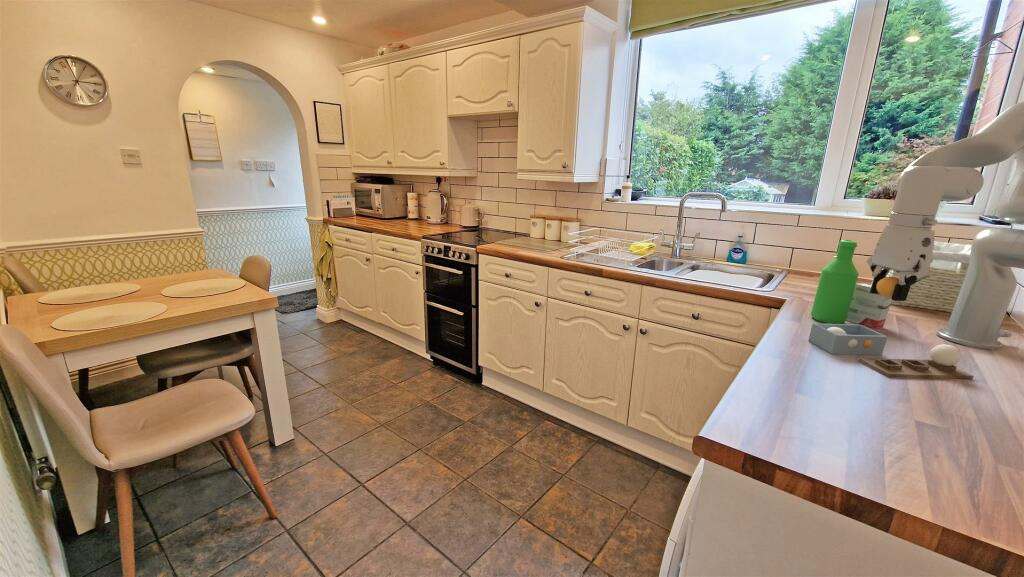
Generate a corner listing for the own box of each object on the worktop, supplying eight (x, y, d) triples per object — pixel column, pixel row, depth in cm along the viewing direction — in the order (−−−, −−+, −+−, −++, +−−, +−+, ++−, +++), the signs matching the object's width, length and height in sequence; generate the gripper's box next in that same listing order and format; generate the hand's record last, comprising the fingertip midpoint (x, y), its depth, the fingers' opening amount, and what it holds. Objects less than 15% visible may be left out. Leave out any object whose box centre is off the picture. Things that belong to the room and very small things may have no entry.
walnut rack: (936, 362, 101) (939, 356, 101) (972, 379, 94) (975, 371, 93) (858, 361, 101) (860, 354, 100) (887, 377, 93) (890, 370, 92)
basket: (986, 320, 136) (1011, 255, 130) (881, 304, 148) (899, 244, 142) (953, 299, 158) (974, 243, 152) (865, 287, 171) (880, 235, 165)
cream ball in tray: (834, 341, 111) (839, 324, 109) (849, 349, 106) (854, 331, 104) (816, 341, 110) (820, 323, 109) (830, 349, 106) (835, 331, 104)
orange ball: (886, 293, 103) (893, 274, 102) (906, 300, 99) (913, 280, 97) (868, 293, 103) (874, 274, 102) (887, 299, 98) (893, 279, 97)
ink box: (884, 327, 125) (895, 289, 122) (875, 329, 123) (887, 291, 119) (851, 317, 132) (862, 282, 129) (843, 319, 130) (853, 283, 127)
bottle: (850, 326, 124) (874, 244, 117) (818, 323, 126) (840, 242, 119) (835, 316, 132) (856, 239, 125) (804, 314, 134) (824, 237, 127)
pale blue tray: (855, 341, 113) (860, 324, 111) (882, 355, 105) (888, 337, 103) (808, 340, 112) (812, 323, 111) (832, 354, 104) (837, 335, 103)
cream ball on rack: (941, 360, 100) (948, 341, 98) (963, 370, 95) (971, 350, 93) (921, 359, 99) (927, 340, 98) (942, 369, 95) (950, 349, 93)
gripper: (966, 227, 88) (937, 308, 93) (890, 217, 104) (869, 287, 109) (934, 226, 87) (907, 308, 92) (862, 216, 104) (843, 286, 109)
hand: (887, 296), depth 101 cm, fingers closed on orange ball, 4 cm apart
